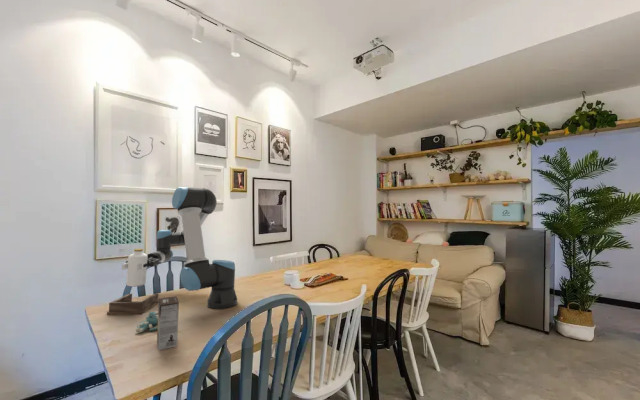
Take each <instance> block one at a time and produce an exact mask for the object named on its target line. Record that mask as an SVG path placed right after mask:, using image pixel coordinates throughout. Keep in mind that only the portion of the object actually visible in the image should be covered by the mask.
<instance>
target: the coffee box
mask: <svg viewBox="0 0 640 400" xmlns="http://www.w3.org/2000/svg"><path fill="white" fill-rule="evenodd" d="M158 301H159V303H158V308H157V309H158V310H157V312H158V329H157V330H156V331H157V332H156V333H157V334H156V340H157V341H156V342H157V343H156V344H157V349H158V351H160V350H161V351H162V350H166V349H170V348H171V349H172V348H175V347H177V346H178V330H179V309H180V307H179V306H180V302H179V299H178V296H177V295H175V296H174V295H173V296H168V297H161V298H160V297H159V298H158Z"/></svg>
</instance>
